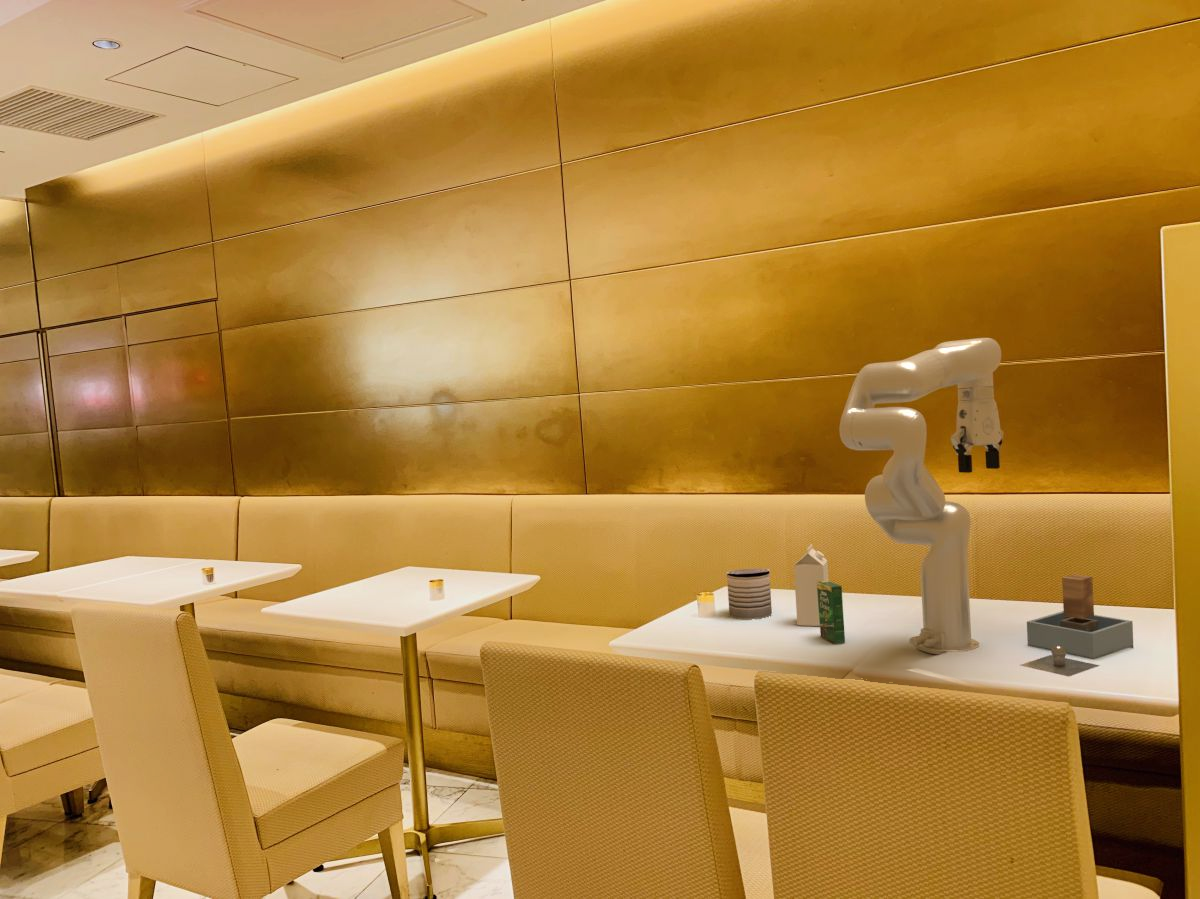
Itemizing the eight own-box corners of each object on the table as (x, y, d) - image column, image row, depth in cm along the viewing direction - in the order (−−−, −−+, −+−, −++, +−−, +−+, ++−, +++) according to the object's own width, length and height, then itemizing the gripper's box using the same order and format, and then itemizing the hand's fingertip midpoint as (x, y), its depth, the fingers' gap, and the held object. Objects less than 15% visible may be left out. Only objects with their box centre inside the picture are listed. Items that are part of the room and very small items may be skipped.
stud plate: (1069, 681, 167) (1067, 655, 167) (1019, 670, 176) (1018, 645, 175) (1100, 670, 172) (1099, 645, 172) (1050, 659, 181) (1049, 635, 181)
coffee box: (818, 636, 210) (815, 580, 209) (830, 634, 211) (827, 579, 210) (833, 644, 202) (830, 586, 202) (845, 643, 203) (842, 585, 202)
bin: (1093, 664, 176) (1092, 633, 176) (1027, 650, 188) (1026, 621, 188) (1133, 650, 183) (1132, 621, 183) (1067, 637, 195) (1066, 610, 195)
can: (726, 620, 231) (723, 574, 231) (730, 609, 242) (728, 565, 242) (771, 619, 229) (769, 573, 228) (773, 609, 240) (771, 564, 239)
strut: (1084, 649, 182) (1081, 580, 182) (1061, 644, 187) (1058, 577, 186) (1099, 644, 185) (1096, 576, 184) (1075, 639, 189) (1072, 573, 188)
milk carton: (797, 626, 221) (792, 549, 220) (802, 619, 227) (797, 544, 226) (826, 627, 218) (822, 549, 217) (830, 619, 224) (826, 544, 224)
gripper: (965, 396, 198) (969, 474, 199) (1014, 393, 207) (1017, 467, 208) (936, 398, 204) (940, 473, 205) (985, 394, 213) (989, 466, 214)
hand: (979, 470), depth 206 cm, fingers open, 9 cm apart
